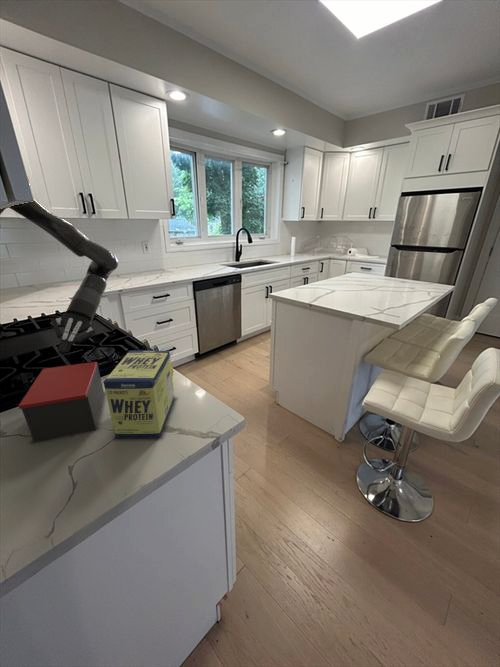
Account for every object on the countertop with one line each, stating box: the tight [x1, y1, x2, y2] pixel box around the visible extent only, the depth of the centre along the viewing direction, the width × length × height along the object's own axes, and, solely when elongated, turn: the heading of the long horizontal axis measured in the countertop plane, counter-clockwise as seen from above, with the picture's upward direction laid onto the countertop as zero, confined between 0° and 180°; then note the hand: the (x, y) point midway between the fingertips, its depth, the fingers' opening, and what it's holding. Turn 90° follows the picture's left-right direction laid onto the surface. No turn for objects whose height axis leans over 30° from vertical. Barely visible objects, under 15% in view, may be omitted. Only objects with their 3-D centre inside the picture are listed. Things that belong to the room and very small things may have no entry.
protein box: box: [102, 350, 176, 439], centre depth 68 cm, size 10×16×16 cm
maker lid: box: [17, 361, 98, 410], centre depth 67 cm, size 16×13×1 cm
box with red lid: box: [21, 363, 105, 443], centre depth 69 cm, size 16×13×10 cm
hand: (61, 352), depth 83 cm, fingers closed
